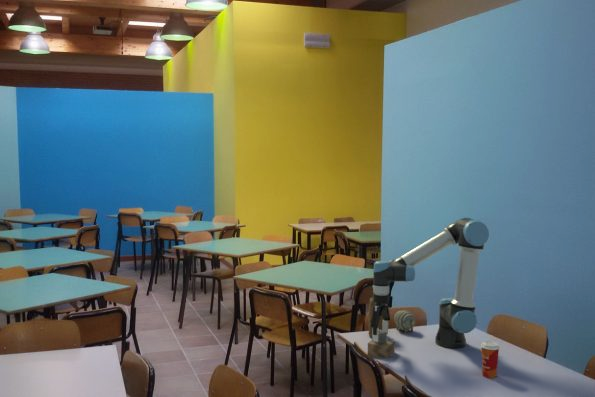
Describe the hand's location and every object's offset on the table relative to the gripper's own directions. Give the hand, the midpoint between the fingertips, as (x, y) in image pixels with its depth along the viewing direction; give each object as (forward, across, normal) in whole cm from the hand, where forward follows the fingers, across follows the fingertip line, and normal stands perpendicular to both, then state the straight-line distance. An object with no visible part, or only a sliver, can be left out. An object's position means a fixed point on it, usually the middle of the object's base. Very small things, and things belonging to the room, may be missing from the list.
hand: (380, 337), depth 270 cm
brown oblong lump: (+8, -26, -12) cm, 30 cm away
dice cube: (+2, 0, -1) cm, 2 cm away
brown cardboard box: (+8, 0, 0) cm, 8 cm away
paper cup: (+8, +4, +51) cm, 52 cm away
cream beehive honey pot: (+8, -41, -1) cm, 42 cm away
